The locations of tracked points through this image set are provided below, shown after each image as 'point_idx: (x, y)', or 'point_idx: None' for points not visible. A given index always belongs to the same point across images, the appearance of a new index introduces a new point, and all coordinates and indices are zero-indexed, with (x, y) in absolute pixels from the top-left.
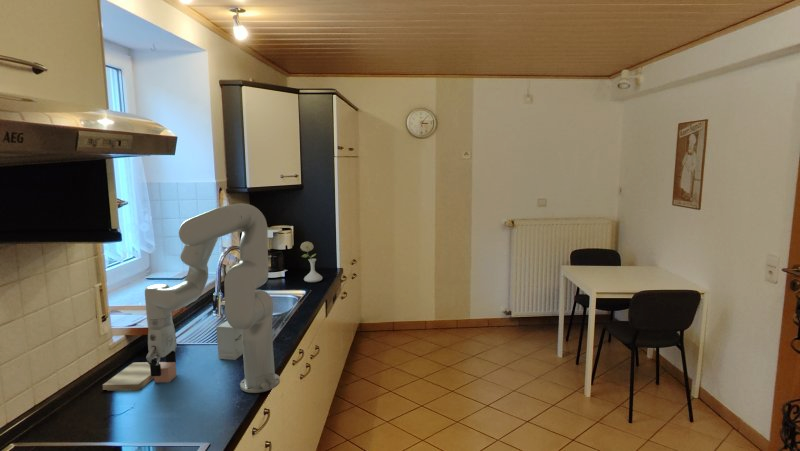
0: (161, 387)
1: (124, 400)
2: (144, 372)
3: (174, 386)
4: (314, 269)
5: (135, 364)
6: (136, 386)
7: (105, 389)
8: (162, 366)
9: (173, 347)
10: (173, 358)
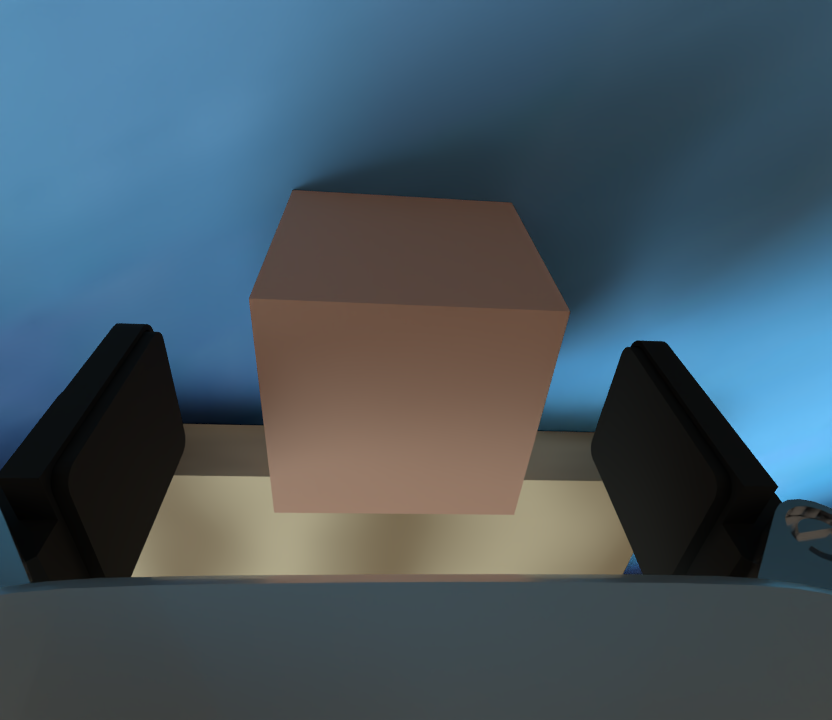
0: (655, 238)
1: (822, 455)
2: (360, 547)
3: (692, 48)
4: None
5: None
6: None
7: None
8: (453, 434)
9: (152, 677)
10: (126, 399)
